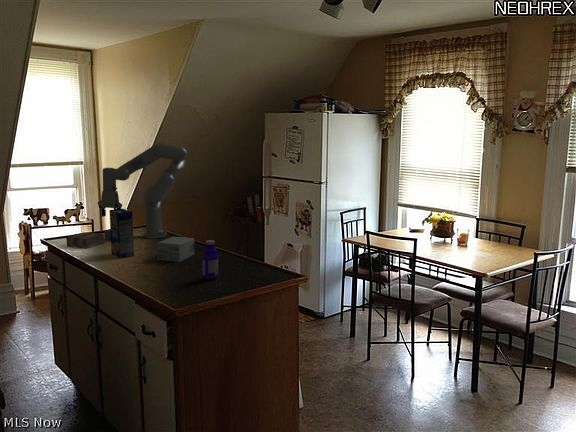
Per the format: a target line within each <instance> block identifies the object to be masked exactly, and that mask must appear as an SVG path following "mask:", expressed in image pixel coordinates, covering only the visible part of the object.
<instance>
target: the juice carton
mask: <svg viewBox="0 0 576 432" xmlns="http://www.w3.org/2000/svg"><path fill="white" fill-rule="evenodd" d="M108 211H109V212H108V213H109V229H110V232H111V241H110V247H111V256H114V257H116V258H117V259H127V258H131V257H135V243H134V223H133V222H134V221H133V220H134V219H133V211H132V210H128V209H126V208H121V209H114V208H113V209H109V210H108Z"/></svg>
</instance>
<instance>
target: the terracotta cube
mask: <svg viewBox="0 0 576 432" xmlns="http://www.w3.org/2000/svg"><path fill="white" fill-rule="evenodd" d="M104 241H110V242H111V232H110V228H109V229H105V230H104Z"/></svg>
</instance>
